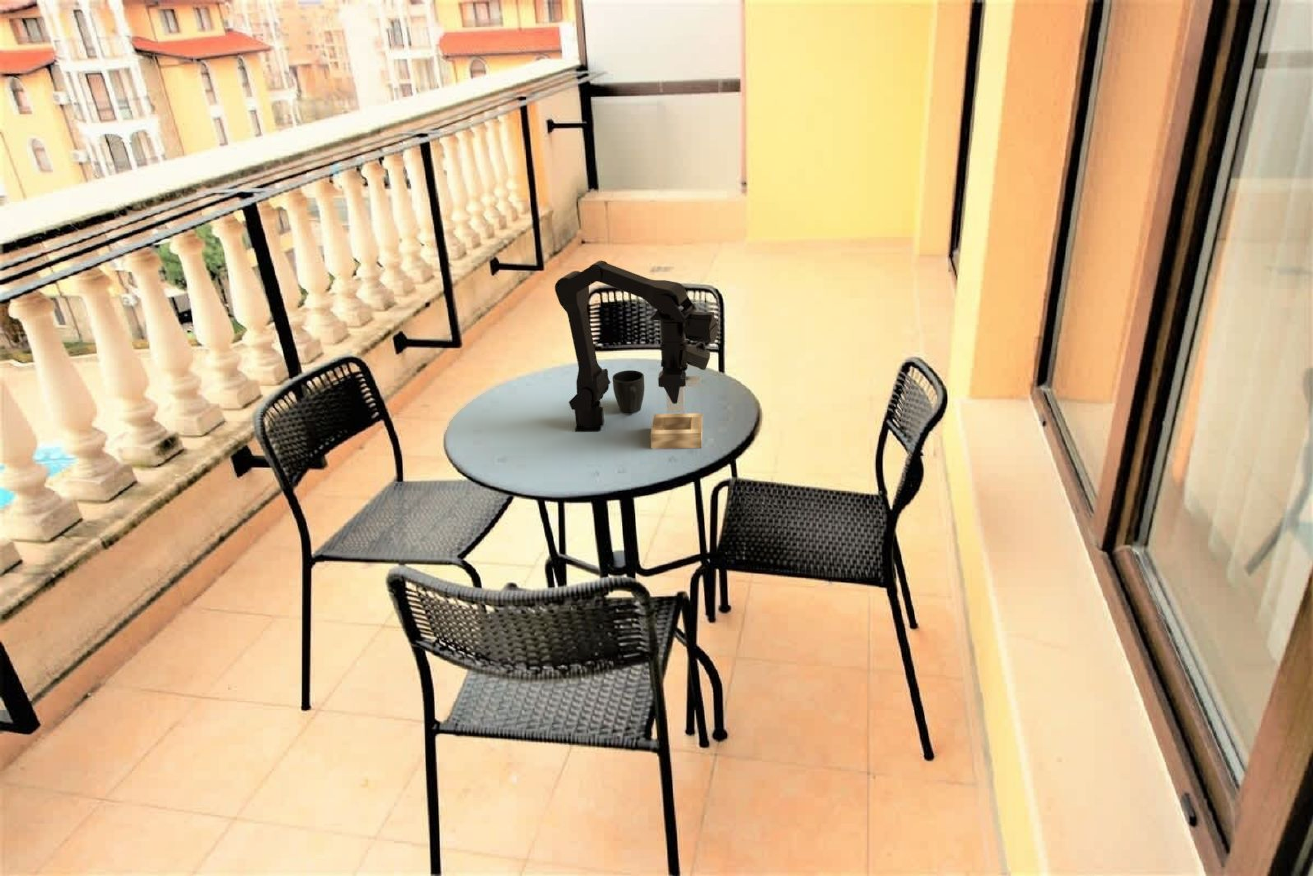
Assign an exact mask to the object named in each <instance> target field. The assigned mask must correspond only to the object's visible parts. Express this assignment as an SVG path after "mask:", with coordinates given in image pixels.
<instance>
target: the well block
mask: <svg viewBox="0 0 1313 876" xmlns="http://www.w3.org/2000/svg"><path fill="white" fill-rule="evenodd" d="M703 427H704V426H703V413H702V412H701V413H700V412H698V413H696V412H695V413H655V414H653V419H652V425H651V429H650V445H651V447H650V448H651V449H652V450H653V449H654V450H655V449H656V450H657V449H702V445H703V444H702V443H703Z"/></svg>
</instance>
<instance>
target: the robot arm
mask: <svg viewBox="0 0 1313 876" xmlns="http://www.w3.org/2000/svg"><path fill="white" fill-rule="evenodd" d="M596 282H598V283H602V284H604V285H606V286H610V287H611V288H613V289H614V288H615V289H617V290H619V291H622V292H625V293H628V294H631V295H634V296H636V297H638V298H641V299H643V300H644V301H645V302H646V303H648V304H649V306H650V307H652V308H654V309H656V311H655V313H653V315H651V316H650V320H651V321H658V322H659V333H660V345H659V348H660V350H659V351H660V354H661V360H660V367H661V368H662V369H661V371H660V372H659V373H658V378H657V380H658V387H660V388H664V390H665V393H666V392H667V394H668V396H669V398H670V399H671V401H672V403H673V404H677V401H678V395H679V389H680V387H684V386H686V376H687V372H686V371H687V370H688V367H689V366H692V367H695V368H698V369H700V370H702V371H705V370H706V369H707V367H708V364H709V362H710V359H711V352H710V351H709V349H707V348H706V347H707V346H706V343H711V344H713V343H715V342H716V340H717V338H718V334H719V333H718V332H719V323H718V321H717V318H716V317H715V313H714V312H713V311H706V312H704V311H697V306H695V304H694V303H693V301H692V300H691V299H690V297H689V296H688V294H687V291H686V288H685V286H684V285H683V284H682V283H679V282H678V281H677V282H676V281H671V280H667V279H651V278H648V277H646V276H645V277H644V276H642V275H641V274H637V273H634V272H632V271H629V270H626V269H623V268H620V267H618V266H616V265H613V264H610V263H608V262H607V261H605V260H597V261H596V262H594V263H592V264H591V265H589V267H587V268H586V269H584V270H581V271H579V270H574V271H570V272H568V273H567V274H566V275H564V276H562V277H561V278H559V279H558V280H557V281H556V283H555V284H554V292H555V294H556V298H557V300H558V302H559V305H560V306H561V307H562V309H563V310H564V311H565V313H566V314H567V318H568V322H569V328H570V332H571V337H572V342H573V346H574V352H575V356H576V362H577V367H578V372H577V376H576V380H575V383H576V394H575V395H574V396H573V397H572V398H571V399H570V400H569V401H568V404H569V406H570V409H571V410H574V417H575V428H574V431H575V432H595V431H597V432H600V431H601V429H602V426H604V423H605V415H604V406H601V400H603V398H604V395H605V394H606V393H607V391H609V387H610V384H611V383H612V382H611V380H610V378H609V370H608V369H607V368H604V369H603V368H602V367H601V366H600V365H599V363H598V359H597V354H596V348H595V345H594V344H595V342H594V339H593V334H592V328H591V323H590V319H589V314H588V313H589V312H588V302H589V297H590V286H591V285H594V283H596ZM680 307H682V309H680ZM688 341H692V342H697V343H696V344H695V345H693V344H692V345H688ZM684 388H685V387H684Z"/></svg>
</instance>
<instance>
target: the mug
mask: <svg viewBox="0 0 1313 876" xmlns="http://www.w3.org/2000/svg"><path fill="white" fill-rule="evenodd" d="M612 387H613V389H612V390H613V393H614V397H615V400H616V403H617V405H618V408H619V410H620V412H621V413H624V414H636V413H638V412H639V411H641V409H642V404H643V401H644V396H645V375H644V373H643V372H641V371H638V370H629V369H627V370H623V371H618V372H616V373H615V374H613V375H612Z"/></svg>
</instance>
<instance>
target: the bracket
mask: <svg viewBox="0 0 1313 876" xmlns="http://www.w3.org/2000/svg"><path fill="white" fill-rule="evenodd" d="M685 387H686V388H687V387H694V388H695V387H701V376H700V375H699V376H697V375H695V376H693V375H692V376H687V375H686V386H684V387H680V389H679V395H678V401H677V404H673V403H672V401H671V399H670V398H669V396H668V394H667V392H666V391H665V395H666V411H667V413H666V414H685V407H686V404H685V402H686V401H685Z"/></svg>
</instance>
